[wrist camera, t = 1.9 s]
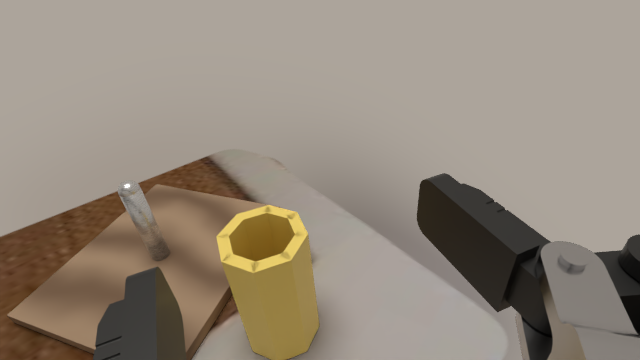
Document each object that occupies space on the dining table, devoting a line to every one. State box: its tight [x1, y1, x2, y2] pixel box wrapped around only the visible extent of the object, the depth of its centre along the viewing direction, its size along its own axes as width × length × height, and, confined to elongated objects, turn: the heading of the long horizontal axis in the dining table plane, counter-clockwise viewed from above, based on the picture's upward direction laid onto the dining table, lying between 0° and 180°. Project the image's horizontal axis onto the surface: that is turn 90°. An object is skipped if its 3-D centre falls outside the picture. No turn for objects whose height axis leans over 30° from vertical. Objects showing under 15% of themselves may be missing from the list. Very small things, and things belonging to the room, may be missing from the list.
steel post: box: [118, 180, 170, 261], centre depth 34 cm, size 2×2×10 cm
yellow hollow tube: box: [216, 205, 319, 360], centre depth 27 cm, size 6×6×11 cm
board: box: [7, 184, 280, 360], centre depth 37 cm, size 20×18×1 cm
